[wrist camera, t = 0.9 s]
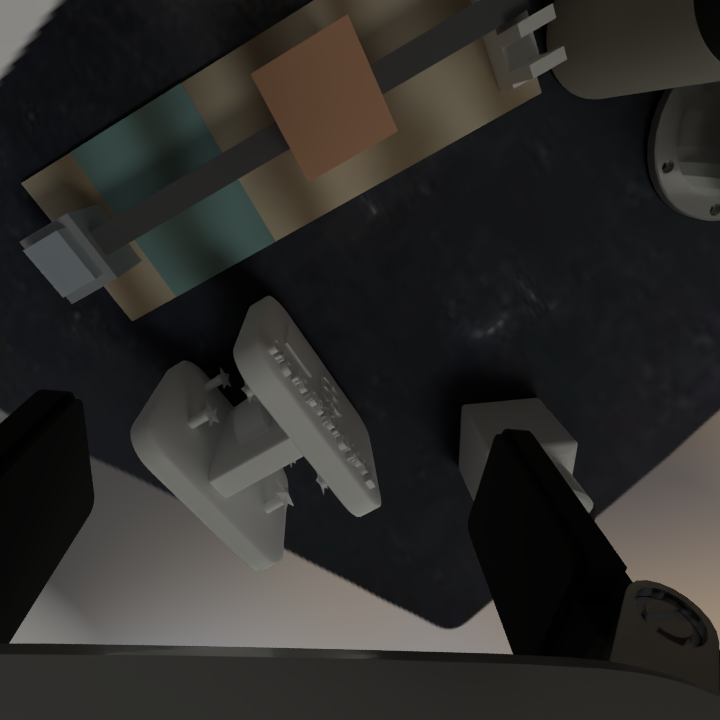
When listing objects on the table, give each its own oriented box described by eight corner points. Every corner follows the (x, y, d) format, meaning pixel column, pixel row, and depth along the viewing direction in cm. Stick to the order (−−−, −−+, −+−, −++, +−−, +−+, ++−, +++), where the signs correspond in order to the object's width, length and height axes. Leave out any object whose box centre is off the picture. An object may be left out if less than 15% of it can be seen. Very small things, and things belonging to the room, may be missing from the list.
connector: (101, 203, 32) (56, 216, 26) (143, 259, 34) (109, 283, 28) (60, 227, 32) (7, 245, 27) (104, 282, 34) (62, 310, 28)
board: (481, -103, 27) (484, -107, 26) (539, 93, 31) (542, 92, 31) (24, 182, 31) (20, 183, 30) (133, 319, 35) (131, 321, 35)
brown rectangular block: (338, 49, 28) (347, 13, 20) (376, 133, 30) (397, 131, 23) (267, 92, 29) (250, 73, 21) (309, 172, 31) (308, 182, 23)
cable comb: (481, -72, 27) (520, -121, 22) (526, 77, 31) (568, 64, 26) (450, -53, 28) (481, -97, 22) (498, 92, 31) (534, 83, 26)
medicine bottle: (530, 460, 45) (600, 562, 34) (457, 468, 44) (504, 573, 33) (538, 395, 42) (617, 485, 31) (460, 403, 41) (512, 496, 30)
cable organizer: (165, 351, 37) (106, 434, 26) (277, 282, 35) (262, 341, 25) (274, 476, 43) (262, 585, 32) (374, 423, 41) (394, 518, 31)
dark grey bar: (510, -16, 26) (521, -25, 25) (518, 14, 27) (530, 7, 26) (80, 239, 30) (69, 244, 29) (97, 261, 31) (87, 266, 29)
